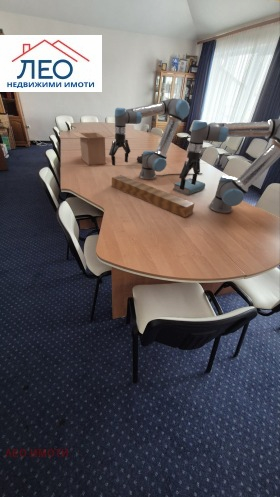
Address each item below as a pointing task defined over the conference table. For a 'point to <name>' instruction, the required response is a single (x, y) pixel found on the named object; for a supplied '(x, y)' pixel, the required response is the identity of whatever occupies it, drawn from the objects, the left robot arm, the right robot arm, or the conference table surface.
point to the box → (92, 146)
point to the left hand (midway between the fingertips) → (120, 163)
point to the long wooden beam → (154, 195)
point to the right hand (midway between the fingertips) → (187, 186)
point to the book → (189, 186)
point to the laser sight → (139, 158)
